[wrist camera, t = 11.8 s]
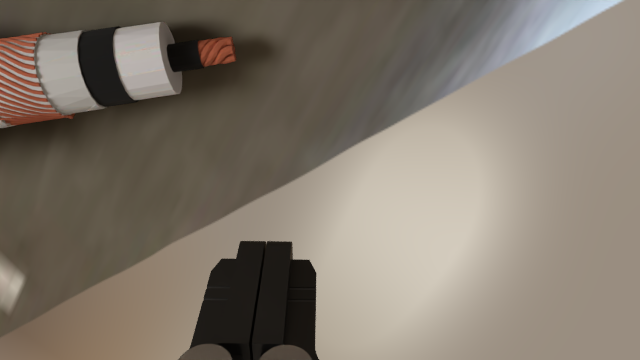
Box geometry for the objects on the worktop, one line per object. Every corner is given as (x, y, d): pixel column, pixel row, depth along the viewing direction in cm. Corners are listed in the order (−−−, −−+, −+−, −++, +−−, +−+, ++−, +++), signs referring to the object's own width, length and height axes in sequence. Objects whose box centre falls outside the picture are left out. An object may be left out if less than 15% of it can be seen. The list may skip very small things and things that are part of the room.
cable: (241, 49, 48) (249, 131, 43) (-102, 100, 47) (-136, 190, 42) (216, -42, 39) (221, 49, 34) (-207, 20, 38) (-265, 122, 33)
